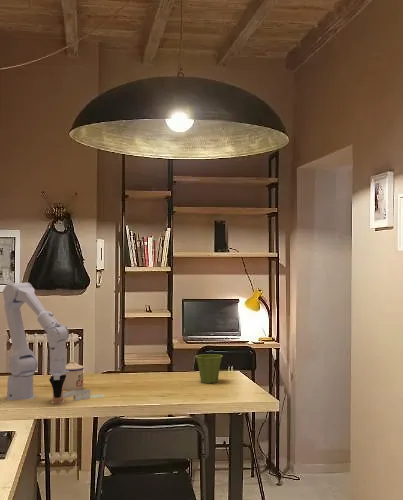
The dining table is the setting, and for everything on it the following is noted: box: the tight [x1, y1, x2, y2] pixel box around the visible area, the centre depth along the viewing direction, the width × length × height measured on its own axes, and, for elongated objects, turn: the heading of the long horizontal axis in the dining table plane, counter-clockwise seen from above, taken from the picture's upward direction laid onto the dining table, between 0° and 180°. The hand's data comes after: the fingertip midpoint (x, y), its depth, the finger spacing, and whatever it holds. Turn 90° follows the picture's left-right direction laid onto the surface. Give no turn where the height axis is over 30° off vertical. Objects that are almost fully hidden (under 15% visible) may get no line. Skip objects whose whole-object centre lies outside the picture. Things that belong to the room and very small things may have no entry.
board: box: [51, 394, 105, 404], centre depth 243 cm, size 20×15×1 cm
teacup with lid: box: [63, 360, 84, 392], centre depth 265 cm, size 12×9×12 cm
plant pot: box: [195, 353, 224, 384], centre depth 277 cm, size 12×12×11 cm
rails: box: [63, 389, 91, 402], centre depth 244 cm, size 12×12×2 cm
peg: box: [52, 387, 64, 404], centre depth 237 cm, size 4×4×7 cm
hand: (57, 396), depth 237 cm, fingers closed on peg, 4 cm apart
